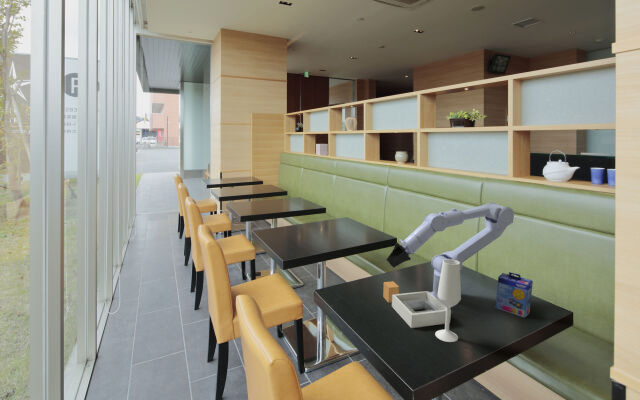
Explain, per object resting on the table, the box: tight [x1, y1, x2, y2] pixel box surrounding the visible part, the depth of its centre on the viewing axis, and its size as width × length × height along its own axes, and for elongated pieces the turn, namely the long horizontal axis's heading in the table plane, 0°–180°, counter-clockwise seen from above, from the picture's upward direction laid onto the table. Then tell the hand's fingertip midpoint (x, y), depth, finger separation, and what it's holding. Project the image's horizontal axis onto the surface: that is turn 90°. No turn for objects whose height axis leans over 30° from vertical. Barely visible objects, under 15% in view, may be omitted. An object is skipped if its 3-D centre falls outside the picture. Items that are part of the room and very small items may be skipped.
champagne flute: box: [434, 259, 462, 343], centre depth 105 cm, size 7×7×24 cm
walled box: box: [391, 290, 452, 329], centre depth 120 cm, size 14×15×4 cm
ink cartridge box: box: [495, 271, 534, 319], centre depth 121 cm, size 10×6×14 cm, turn 45°
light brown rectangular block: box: [382, 280, 400, 304], centre depth 131 cm, size 4×5×6 cm
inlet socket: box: [401, 298, 439, 314], centre depth 120 cm, size 10×10×3 cm
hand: (390, 263), depth 127 cm, fingers open, 7 cm apart
